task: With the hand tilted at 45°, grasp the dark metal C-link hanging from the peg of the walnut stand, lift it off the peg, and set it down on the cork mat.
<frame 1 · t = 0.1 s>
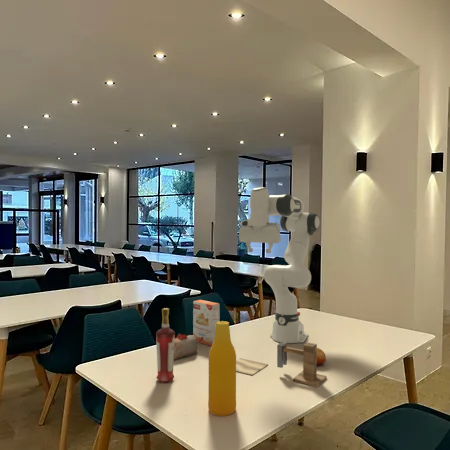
hand: (259, 252, 185), 48 cm above the table, tool pointing down, fingers open, 8 cm apart
food item: (181, 356, 186), on the table
link: (282, 365, 165), point 3 cm above the table, touching stand
cracker box: (206, 343, 206), on the table
fruit: (316, 364, 176), on the table
mat: (245, 366, 172), on the table
stand: (309, 379, 158), on the table
liquor: (165, 380, 157), on the table
beer bottle: (222, 410, 133), on the table
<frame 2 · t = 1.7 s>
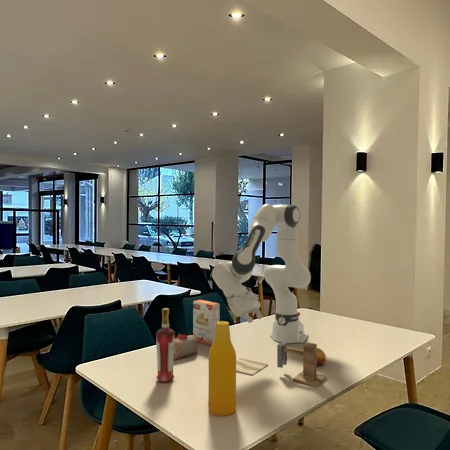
hand: (256, 320, 171), 20 cm above the table, tool tilted 45°, fingers open, 8 cm apart
nothing on the table moved.
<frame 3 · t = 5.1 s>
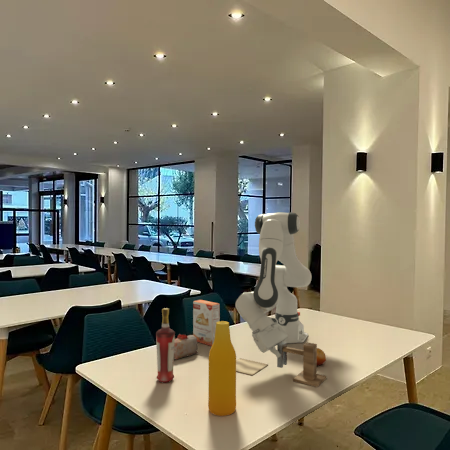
hand: (283, 354, 165), 8 cm above the table, tool tilted 45°, fingers closed on link, 5 cm apart
link: (282, 365, 165), point 3 cm above the table, touching gripper, stand
everything else where it was.
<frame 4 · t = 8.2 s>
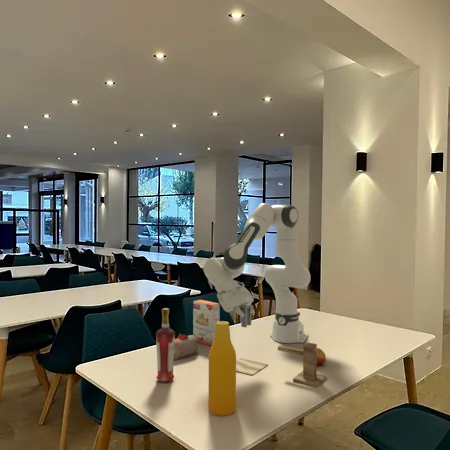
hand: (247, 314, 171), 22 cm above the table, tool tilted 45°, fingers closed on link, 5 cm apart
link: (246, 325, 172), point 18 cm above the table, touching gripper
everything else where it was.
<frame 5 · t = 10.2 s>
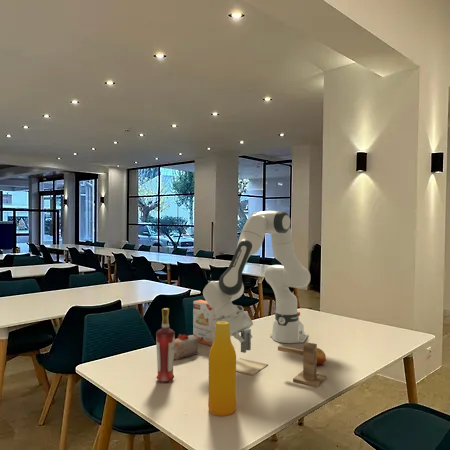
hand: (247, 340, 171), 12 cm above the table, tool tilted 45°, fingers closed on link, 5 cm apart
link: (245, 350, 172), point 7 cm above the table, touching gripper
everything else where it was.
when the fingers open (7 cm above the table, at t = 11.6 s): link drops 2 cm, resting on mat.
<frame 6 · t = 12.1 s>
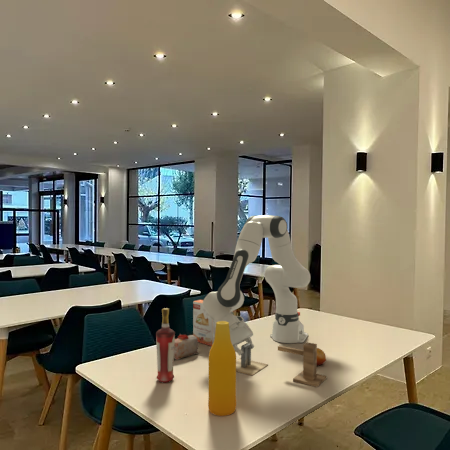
hand: (247, 351, 172), 7 cm above the table, tool tilted 45°, fingers open, 8 cm apart
link: (246, 365, 172), resting on mat
everything else where it was.
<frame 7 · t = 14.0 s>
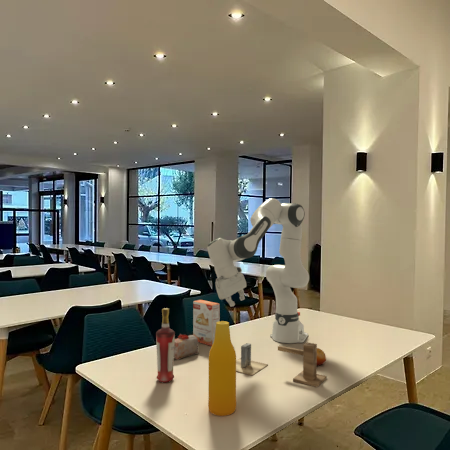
hand: (238, 302, 178), 26 cm above the table, tool tilted 20°, fingers open, 8 cm apart
nothing on the table moved.
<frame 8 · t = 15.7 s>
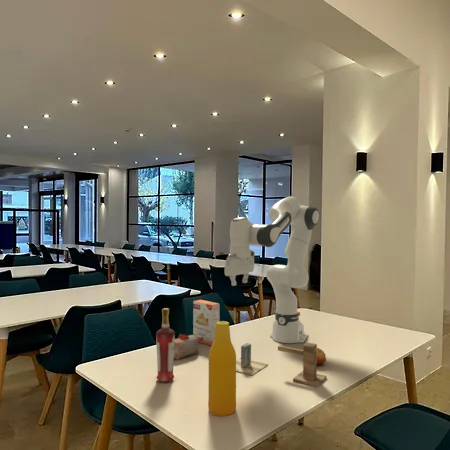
hand: (239, 284, 180), 34 cm above the table, tool pointing down, fingers open, 8 cm apart
nothing on the table moved.
at the end: link inside the target area on the mat (0.1 cm from its centre), point 0.4 cm above the mat's base; link touching mat; the gripper is holding nothing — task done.
